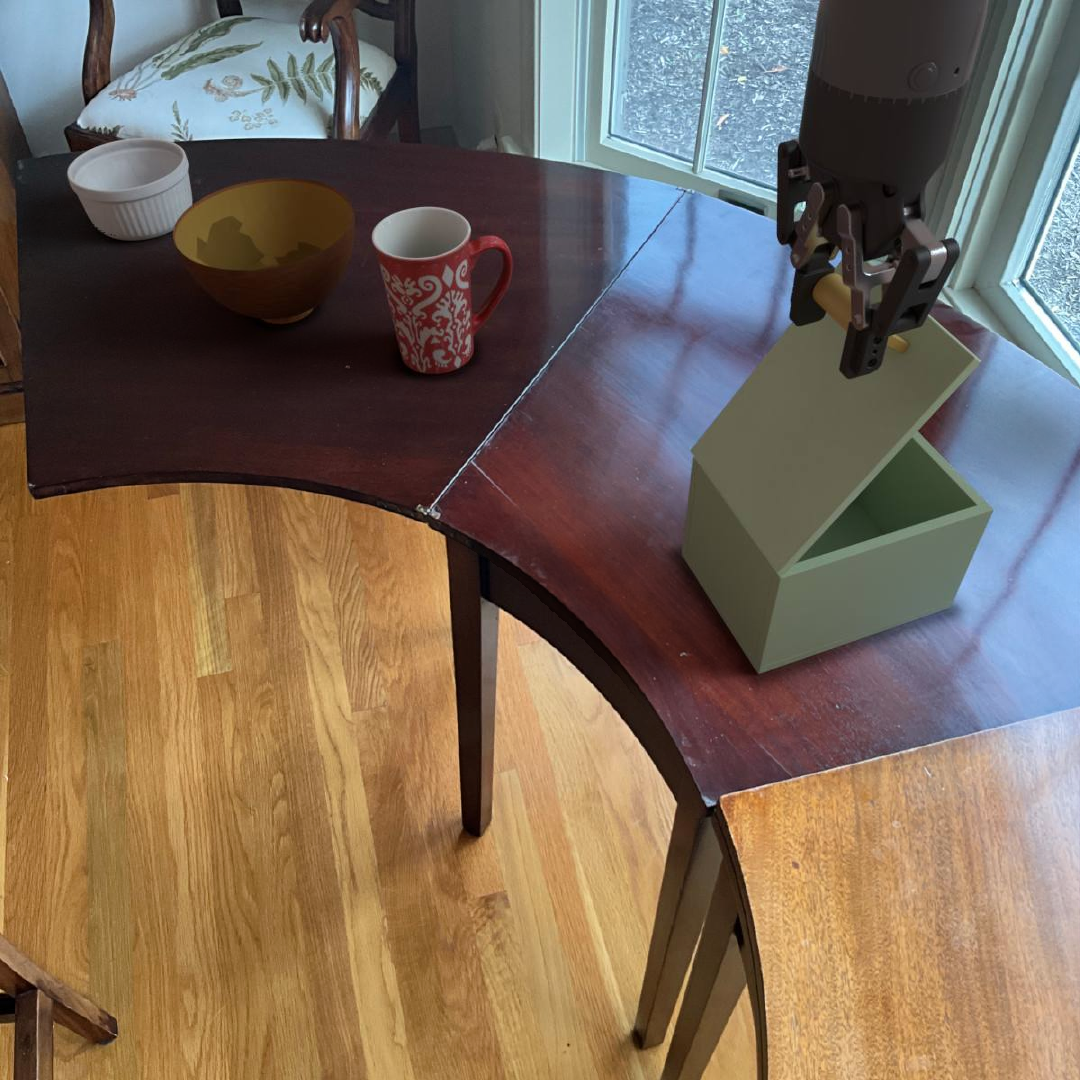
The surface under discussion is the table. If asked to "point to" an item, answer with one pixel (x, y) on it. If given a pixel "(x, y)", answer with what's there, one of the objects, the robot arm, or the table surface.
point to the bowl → (268, 246)
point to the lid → (823, 422)
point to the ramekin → (133, 187)
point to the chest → (840, 560)
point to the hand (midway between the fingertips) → (831, 344)
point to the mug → (435, 285)
